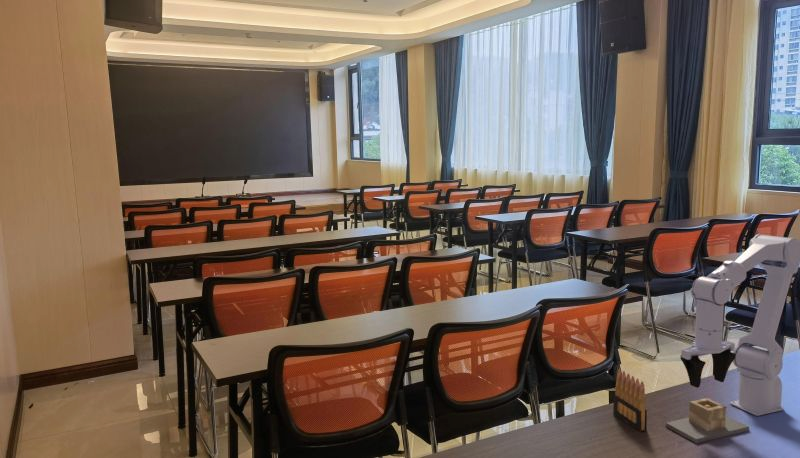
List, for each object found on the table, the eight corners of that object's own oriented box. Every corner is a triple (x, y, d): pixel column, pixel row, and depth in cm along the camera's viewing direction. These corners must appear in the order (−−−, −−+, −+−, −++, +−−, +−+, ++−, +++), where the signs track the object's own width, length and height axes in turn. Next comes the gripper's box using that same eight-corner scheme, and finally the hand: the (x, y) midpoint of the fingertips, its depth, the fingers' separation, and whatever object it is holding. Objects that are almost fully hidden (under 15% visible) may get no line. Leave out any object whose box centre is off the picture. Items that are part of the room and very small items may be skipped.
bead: (706, 417, 144) (706, 397, 144) (725, 427, 139) (726, 406, 139) (688, 421, 143) (689, 401, 142) (707, 431, 137) (708, 410, 137)
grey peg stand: (716, 415, 148) (717, 392, 147) (748, 430, 139) (750, 406, 139) (665, 426, 142) (666, 403, 142) (696, 443, 134) (697, 418, 133)
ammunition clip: (646, 430, 141) (648, 382, 139) (640, 431, 140) (641, 383, 139) (619, 412, 151) (620, 366, 149) (613, 413, 151) (613, 367, 149)
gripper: (717, 319, 146) (715, 372, 148) (671, 327, 141) (670, 382, 143) (743, 327, 140) (740, 382, 141) (696, 335, 135) (694, 393, 136)
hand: (707, 383), depth 142 cm, fingers open, 7 cm apart
